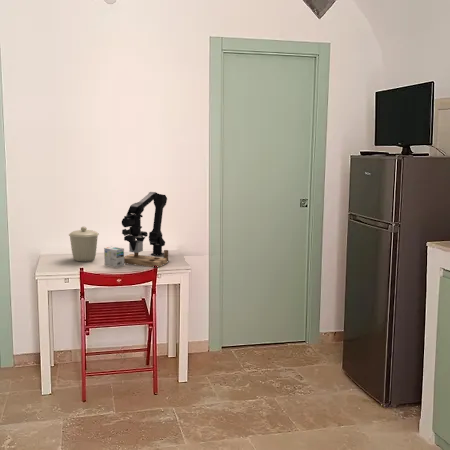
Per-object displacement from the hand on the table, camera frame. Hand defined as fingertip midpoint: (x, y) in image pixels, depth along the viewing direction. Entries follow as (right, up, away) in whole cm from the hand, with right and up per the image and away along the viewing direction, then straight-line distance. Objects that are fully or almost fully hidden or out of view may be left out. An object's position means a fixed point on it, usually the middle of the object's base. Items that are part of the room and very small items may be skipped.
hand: (136, 249), depth 368 cm
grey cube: (0, -1, 0) cm, 1 cm away
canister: (-33, -7, +1) cm, 33 cm away
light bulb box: (-12, -9, -10) cm, 18 cm away
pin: (+19, -7, +2) cm, 20 cm away
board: (+5, -8, -3) cm, 10 cm away
